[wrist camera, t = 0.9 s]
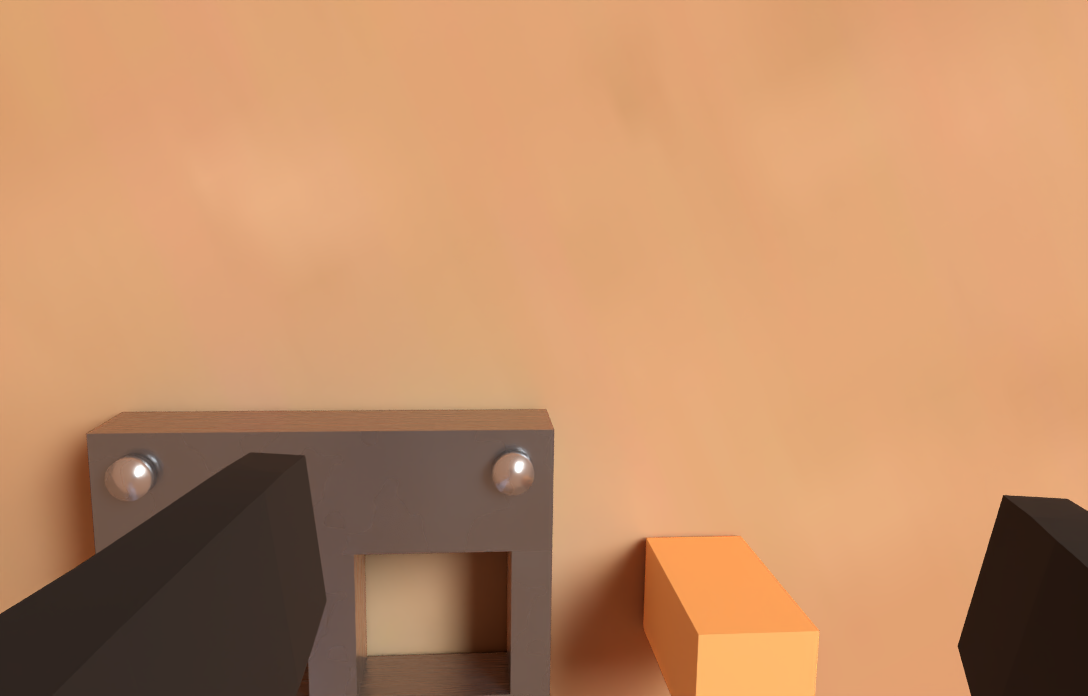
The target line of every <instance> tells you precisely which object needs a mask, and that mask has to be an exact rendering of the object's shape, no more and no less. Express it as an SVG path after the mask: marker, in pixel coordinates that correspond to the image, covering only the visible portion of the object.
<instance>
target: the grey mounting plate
mask: <svg viewBox="0 0 1088 696" xmlns="http://www.w3.org/2000/svg"><path fill="white" fill-rule="evenodd" d="M87 447H88V460H89V473H90V487H91V500H92V513H93V527H94V540H95V553H96V554H97V553H98V552H100V551H101V550H103V549H104V548H106V547H107V546H109V545H110V544H112V543H113V542H115V541H116V540H118V539H119V538H121V537H122V536H124V535H125V534H127V533H128V532H130V531H131V530H133V529H134V528H136V527H137V526H139V525H140V524H142V523H143V522H145V521H146V520H148V519H149V518H151V517H152V516H154V515H155V514H157V513H158V512H160V511H161V510H163V509H164V508H166V507H167V506H169V505H170V504H171V503H173V502H174V501H176V500H177V499H179V498H180V497H182V496H183V495H185V494H186V493H188V492H189V491H191V490H192V489H194V488H195V487H197V486H198V485H200V484H201V483H202V482H204V481H205V480H207V479H208V478H210V477H211V476H213V475H215V474H216V473H218V472H219V471H221V470H222V469H224V468H225V467H227V466H228V465H230V464H232V463H233V462H235V461H237V460H238V459H240V458H242V457H243V456H245V455H247V454H248V453H250V452H256V453H273V454H291V455H305V457H306V464H307V471H308V478H309V484H310V491H311V498H312V504H313V511H314V518H315V525H316V531H317V538H318V545H319V552H320V558H321V565H322V572H323V579H324V585H325V592H326V599H327V602H326V605H325V608H324V612H323V615H322V618H321V621H320V625H319V628H318V631H317V635H316V638H315V641H314V644H313V648H312V651H311V654H310V657H309V660H308V663H307V666H306V669H305V672H304V675H303V678H302V681H301V684H300V687H299V689H298V692H297V694H296V696H550V644H551V586H552V527H553V468H554V428H553V425H552V423H551V420H550V418H549V415H548V412H547V410H546V409H536V410H379V411H222V412H122V413H120V414H119V415H117V416H115V417H114V418H112V419H110V420H109V421H107V422H105V423H103V424H102V425H100V426H98V427H97V428H95V429H93V430H92V431H90V432H88V433H87ZM504 551H508V567H507V652H497V653H465V654H433V655H402V656H370V657H367V636H366V587H365V554H409V553H457V552H504Z"/></svg>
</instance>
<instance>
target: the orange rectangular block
mask: <svg viewBox="0 0 1088 696" xmlns="http://www.w3.org/2000/svg"><path fill="white" fill-rule="evenodd" d="M643 629H644V631H645V634H646V636H647V638H648V641H649V643H650V646H651V648H652V650H653V653H654V655H655V658H656V660H657V662H658V665H659V667H660V670H661V672H662V674H663V677H664V679H665V682H666V684H667V686H668V689H669V691H670V694H671V696H815V685H816V672H817V658H818V644H819V630H818V629H817V628H816V626H815V625H814V624H813V623H812V622H811V620H810V619H809V618H808V617H807V616H806V614H805V613H804V612H803V611H802V609H801V608H800V607H799V606H798V605H797V603H796V602H795V601H794V600H793V599H792V597H791V596H790V595H789V594H788V593H787V591H786V590H785V589H784V588H783V587H782V585H781V584H780V583H779V582H778V581H777V579H776V578H775V577H774V576H773V575H772V573H771V572H770V571H769V570H768V568H767V567H766V566H765V565H764V564H763V562H762V561H761V560H760V559H759V558H758V556H757V555H756V554H755V553H754V552H753V550H752V549H751V548H750V547H749V546H748V544H747V543H746V542H745V541H744V540H743V538H742V537H741V536H715V537H666V538H646V563H645V591H644V619H643Z"/></svg>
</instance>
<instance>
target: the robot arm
mask: <svg viewBox="0 0 1088 696" xmlns="http://www.w3.org/2000/svg"><path fill="white" fill-rule="evenodd" d="M326 602H327V599H326V592H325V585H324V579H323V572H322V565H321V558H320V552H319V545H318V538H317V531H316V525H315V518H314V511H313V504H312V498H311V491H310V484H309V478H308V471H307V464H306V457H305V455H291V454H273V453H256V452H250V453H248V454H247V455H245V456H243V457H242V458H240V459H238V460H237V461H235V462H233V463H232V464H230V465H228V466H227V467H225V468H224V469H222V470H221V471H219V472H218V473H216V474H215V475H213V476H211V477H210V478H208V479H207V480H205V481H204V482H202V483H201V484H200V485H198V486H197V487H195V488H194V489H192V490H191V491H189V492H188V493H186V494H185V495H183V496H182V497H180V498H179V499H177V500H176V501H174V502H173V503H171V504H170V505H169V506H167V507H166V508H164V509H163V510H161V511H160V512H158V513H157V514H155V515H154V516H152V517H151V518H149V519H148V520H146V521H145V522H143V523H142V524H140V525H139V526H137V527H136V528H134V529H133V530H131V531H130V532H128V533H127V534H125V535H124V536H122V537H121V538H119V539H118V540H116V541H115V542H113V543H112V544H110V545H109V546H107V547H106V548H104V549H103V550H101V551H100V552H98V553H97V554H95V555H94V556H92V557H91V558H89V559H88V560H86V561H85V562H83V563H82V564H80V565H79V566H77V567H76V568H74V569H72V570H71V571H69V572H68V573H66V574H64V575H63V576H61V577H59V578H58V579H56V580H55V581H53V582H51V583H50V584H48V585H46V586H45V587H43V588H42V589H40V590H38V591H37V592H35V593H34V594H32V595H30V596H29V597H27V598H25V599H24V600H22V601H21V602H19V603H17V604H16V605H14V606H12V607H11V608H9V609H8V610H6V611H4V612H3V613H1V614H0V696H296V694H297V692H298V689H299V687H300V684H301V681H302V678H303V675H304V672H305V669H306V666H307V663H308V660H309V657H310V654H311V651H312V648H313V644H314V641H315V638H316V635H317V631H318V628H319V625H320V621H321V618H322V615H323V612H324V608H325V605H326ZM958 649H959V652H960V656H961V660H962V663H963V667H964V671H965V674H966V678H967V682H968V685H969V689H970V693H971V696H1088V511H1087V510H1085V509H1083V508H1082V507H1080V506H1078V505H1077V504H1075V503H1073V502H1072V501H1070V500H1068V499H1061V498H1043V497H1026V496H1008V495H1003V498H1002V501H1001V504H1000V508H999V511H998V514H997V518H996V521H995V524H994V528H993V531H992V534H991V537H990V541H989V544H988V547H987V551H986V554H985V557H984V561H983V564H982V567H981V571H980V574H979V577H978V581H977V584H976V587H975V590H974V594H973V597H972V600H971V604H970V607H969V610H968V614H967V617H966V620H965V624H964V627H963V630H962V633H961V637H960V640H959V643H958Z"/></svg>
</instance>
